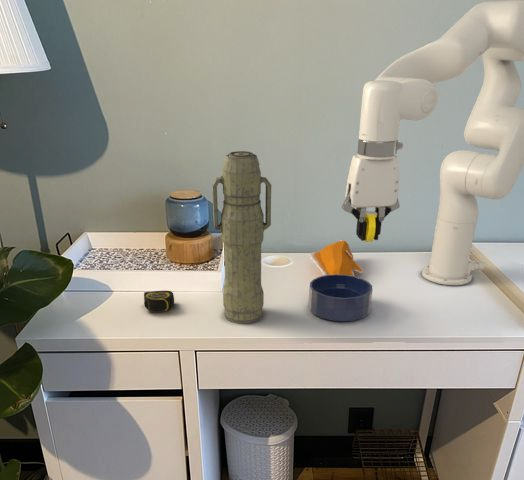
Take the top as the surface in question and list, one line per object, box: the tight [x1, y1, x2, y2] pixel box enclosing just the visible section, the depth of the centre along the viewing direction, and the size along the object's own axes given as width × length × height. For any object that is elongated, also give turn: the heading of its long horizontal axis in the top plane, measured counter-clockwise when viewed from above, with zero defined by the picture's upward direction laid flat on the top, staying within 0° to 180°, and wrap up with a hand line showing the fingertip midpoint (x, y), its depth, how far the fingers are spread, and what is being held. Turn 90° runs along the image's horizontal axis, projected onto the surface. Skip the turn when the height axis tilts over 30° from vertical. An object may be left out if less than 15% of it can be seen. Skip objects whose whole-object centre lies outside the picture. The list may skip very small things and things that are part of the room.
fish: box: [309, 239, 365, 277], centre depth 144 cm, size 7×27×15 cm
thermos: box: [211, 150, 272, 325], centre depth 117 cm, size 9×12×35 cm
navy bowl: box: [308, 274, 373, 322], centre depth 127 cm, size 14×14×6 cm
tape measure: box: [143, 290, 175, 313], centre depth 127 cm, size 7×7×4 cm
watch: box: [364, 210, 377, 243], centre depth 119 cm, size 6×3×6 cm, turn 3°
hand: (367, 237), depth 120 cm, fingers closed on watch, 2 cm apart
